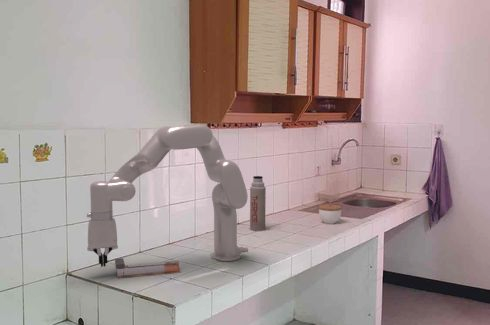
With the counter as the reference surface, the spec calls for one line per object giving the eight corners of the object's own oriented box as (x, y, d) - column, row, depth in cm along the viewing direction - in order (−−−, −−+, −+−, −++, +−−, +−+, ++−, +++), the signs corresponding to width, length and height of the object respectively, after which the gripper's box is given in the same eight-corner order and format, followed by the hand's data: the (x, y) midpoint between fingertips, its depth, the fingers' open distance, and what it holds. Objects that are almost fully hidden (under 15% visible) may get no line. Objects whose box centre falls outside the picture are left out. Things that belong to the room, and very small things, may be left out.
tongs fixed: (174, 266, 194) (174, 258, 194) (178, 271, 187) (178, 263, 187) (116, 271, 187) (116, 263, 187) (117, 277, 181) (117, 269, 180)
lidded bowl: (314, 221, 282) (314, 202, 281) (332, 219, 287) (332, 200, 286) (326, 225, 271) (327, 205, 270) (345, 223, 276) (346, 204, 275)
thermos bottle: (257, 231, 256) (258, 177, 253) (246, 229, 262) (247, 176, 259) (268, 229, 262) (268, 176, 259) (257, 226, 267) (257, 175, 265)
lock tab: (123, 262, 188) (123, 258, 187) (124, 268, 181) (124, 263, 180) (114, 263, 187) (114, 258, 186) (116, 268, 180) (116, 264, 179)
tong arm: (178, 266, 193) (177, 260, 193) (179, 268, 190) (179, 262, 190) (127, 270, 188) (127, 264, 188) (128, 272, 185) (128, 267, 185)
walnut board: (174, 264, 200) (174, 261, 200) (181, 275, 186) (181, 272, 186) (115, 269, 193) (115, 266, 193) (118, 281, 179) (117, 278, 179)
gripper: (80, 219, 174) (81, 270, 176) (123, 216, 179) (125, 266, 180) (80, 215, 181) (81, 264, 183) (122, 212, 186) (123, 260, 188)
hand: (103, 265), depth 182 cm, fingers closed
